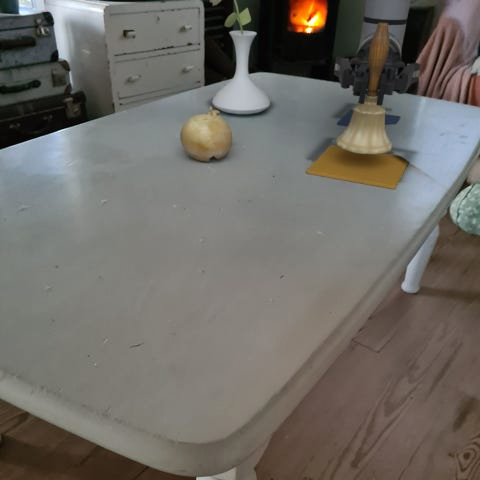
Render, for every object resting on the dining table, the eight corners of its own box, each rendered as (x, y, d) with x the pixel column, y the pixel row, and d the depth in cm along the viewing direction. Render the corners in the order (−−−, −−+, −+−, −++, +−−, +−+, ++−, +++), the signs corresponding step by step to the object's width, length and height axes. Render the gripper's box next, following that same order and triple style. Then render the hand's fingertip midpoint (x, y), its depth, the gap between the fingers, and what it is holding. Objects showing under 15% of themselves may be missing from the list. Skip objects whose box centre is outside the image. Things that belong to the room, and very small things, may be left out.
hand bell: (357, 157, 73) (379, 28, 63) (325, 139, 79) (341, 19, 69) (403, 150, 76) (431, 27, 66) (369, 134, 82) (390, 18, 72)
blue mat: (390, 132, 94) (390, 129, 94) (336, 124, 97) (337, 121, 97) (400, 118, 101) (400, 116, 101) (350, 111, 104) (350, 109, 104)
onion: (228, 167, 77) (229, 118, 73) (176, 164, 78) (174, 115, 74) (234, 150, 84) (235, 104, 80) (186, 147, 84) (184, 101, 80)
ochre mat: (394, 189, 72) (395, 186, 72) (306, 173, 76) (306, 170, 76) (409, 160, 82) (410, 157, 82) (330, 148, 86) (331, 145, 86)
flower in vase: (238, 100, 109) (241, -44, 94) (281, 111, 103) (291, -41, 88) (194, 112, 101) (190, -44, 86) (238, 124, 95) (242, -41, 80)
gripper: (418, 88, 87) (423, 128, 69) (330, 81, 90) (312, 117, 71) (429, 38, 83) (437, 66, 64) (336, 32, 85) (319, 57, 67)
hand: (372, 93), depth 68 cm, fingers closed on hand bell, 2 cm apart
